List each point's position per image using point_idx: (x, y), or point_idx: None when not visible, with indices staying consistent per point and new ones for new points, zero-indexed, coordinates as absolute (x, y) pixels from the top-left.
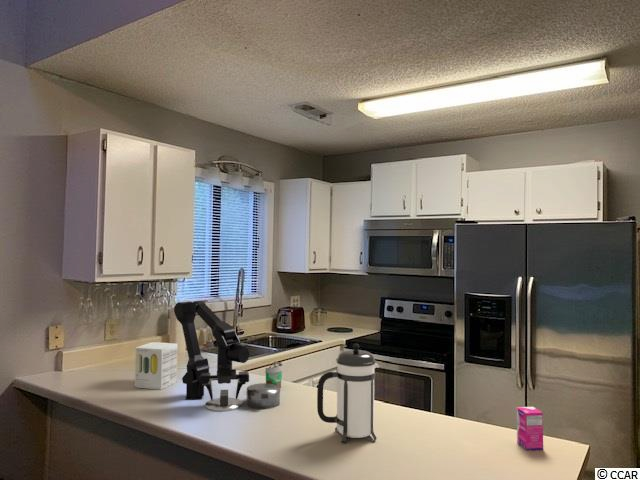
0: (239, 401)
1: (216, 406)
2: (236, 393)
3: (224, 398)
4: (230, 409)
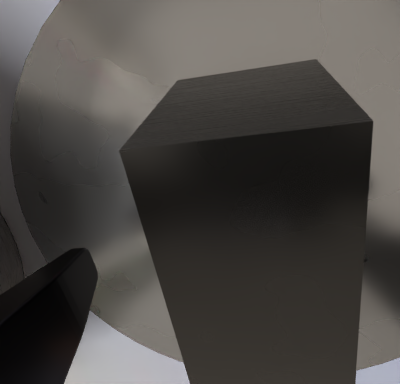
0: None
1: (381, 72)
2: (15, 309)
3: (231, 114)
4: None
